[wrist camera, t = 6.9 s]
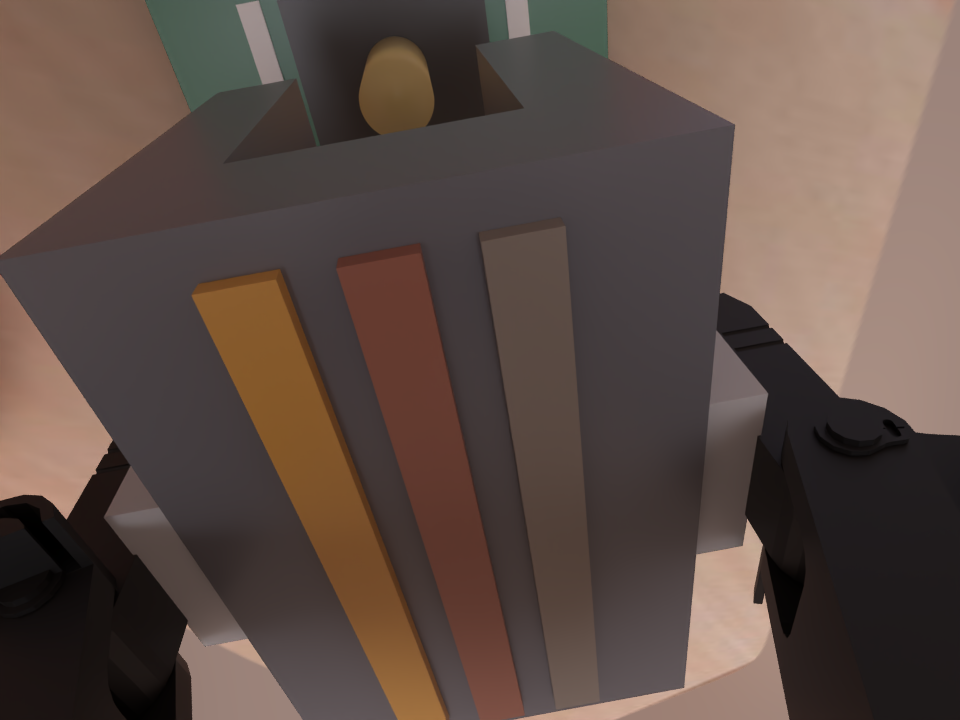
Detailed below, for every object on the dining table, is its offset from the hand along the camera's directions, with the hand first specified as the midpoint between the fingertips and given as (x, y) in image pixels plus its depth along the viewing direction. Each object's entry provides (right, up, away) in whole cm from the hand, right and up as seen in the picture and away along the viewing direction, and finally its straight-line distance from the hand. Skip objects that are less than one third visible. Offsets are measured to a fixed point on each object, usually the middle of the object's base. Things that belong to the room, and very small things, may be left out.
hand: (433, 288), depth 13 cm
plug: (0, 0, 0) cm, 0 cm away
